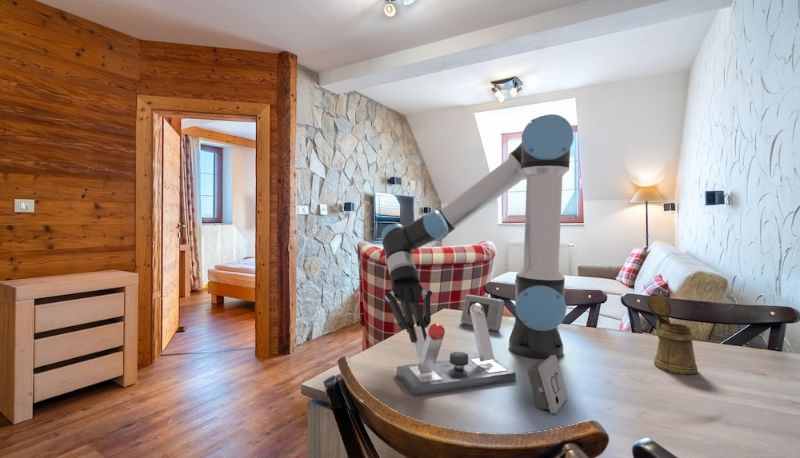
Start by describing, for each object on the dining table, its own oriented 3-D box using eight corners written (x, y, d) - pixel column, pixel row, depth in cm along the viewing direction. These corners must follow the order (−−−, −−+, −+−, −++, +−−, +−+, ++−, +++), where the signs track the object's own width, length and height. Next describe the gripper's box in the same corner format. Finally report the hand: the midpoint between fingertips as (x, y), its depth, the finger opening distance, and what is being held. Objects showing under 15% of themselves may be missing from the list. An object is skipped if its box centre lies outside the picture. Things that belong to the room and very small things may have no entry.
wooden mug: (668, 355, 106) (669, 292, 106) (706, 375, 92) (708, 303, 92) (636, 355, 106) (637, 292, 106) (670, 375, 93) (672, 303, 92)
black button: (462, 358, 94) (462, 351, 94) (471, 364, 89) (471, 357, 89) (446, 360, 92) (446, 352, 92) (454, 366, 88) (454, 359, 88)
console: (489, 362, 100) (489, 349, 100) (515, 380, 89) (515, 365, 89) (396, 374, 92) (396, 360, 92) (413, 396, 81) (413, 379, 81)
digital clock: (458, 323, 139) (458, 295, 139) (475, 319, 144) (475, 292, 144) (491, 334, 126) (491, 303, 126) (508, 330, 131) (509, 299, 131)
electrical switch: (555, 416, 73) (551, 368, 73) (528, 410, 76) (524, 364, 76) (568, 399, 80) (564, 355, 80) (543, 394, 83) (540, 352, 84)
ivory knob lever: (490, 360, 96) (478, 304, 101) (497, 359, 92) (484, 301, 98) (477, 362, 94) (466, 305, 100) (484, 360, 91) (472, 302, 97)
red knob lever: (429, 362, 90) (442, 319, 82) (434, 375, 87) (448, 331, 79) (415, 364, 89) (427, 320, 81) (420, 377, 86) (433, 333, 78)
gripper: (421, 279, 107) (443, 358, 92) (377, 280, 103) (392, 363, 88) (428, 263, 102) (453, 344, 86) (382, 264, 98) (399, 349, 82)
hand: (422, 354), depth 87 cm, fingers closed
